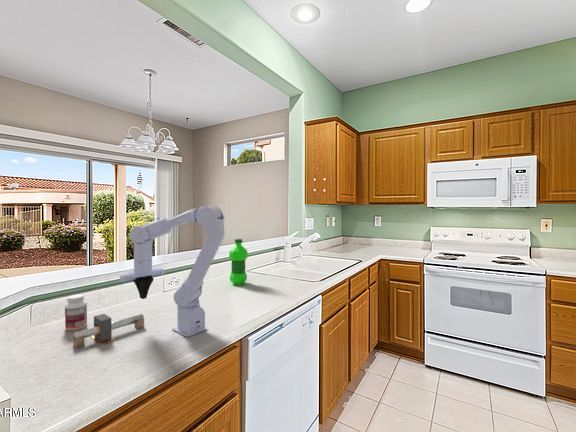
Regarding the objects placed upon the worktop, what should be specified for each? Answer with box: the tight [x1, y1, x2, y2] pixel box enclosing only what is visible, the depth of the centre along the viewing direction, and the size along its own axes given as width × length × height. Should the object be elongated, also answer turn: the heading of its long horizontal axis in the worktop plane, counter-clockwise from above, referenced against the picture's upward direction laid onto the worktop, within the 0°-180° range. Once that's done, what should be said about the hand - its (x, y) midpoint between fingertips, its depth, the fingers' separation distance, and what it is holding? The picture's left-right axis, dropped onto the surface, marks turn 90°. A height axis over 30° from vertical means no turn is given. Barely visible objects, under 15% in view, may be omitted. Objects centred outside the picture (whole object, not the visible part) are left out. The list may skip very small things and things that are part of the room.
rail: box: [72, 313, 145, 350], centre depth 95 cm, size 20×9×4 cm, turn 142°
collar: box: [93, 313, 113, 342], centre depth 93 cm, size 3×6×7 cm, turn 52°
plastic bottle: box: [228, 238, 249, 286], centre depth 161 cm, size 10×10×25 cm
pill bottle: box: [64, 294, 88, 331], centre depth 101 cm, size 6×6×11 cm
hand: (143, 298), depth 102 cm, fingers closed
